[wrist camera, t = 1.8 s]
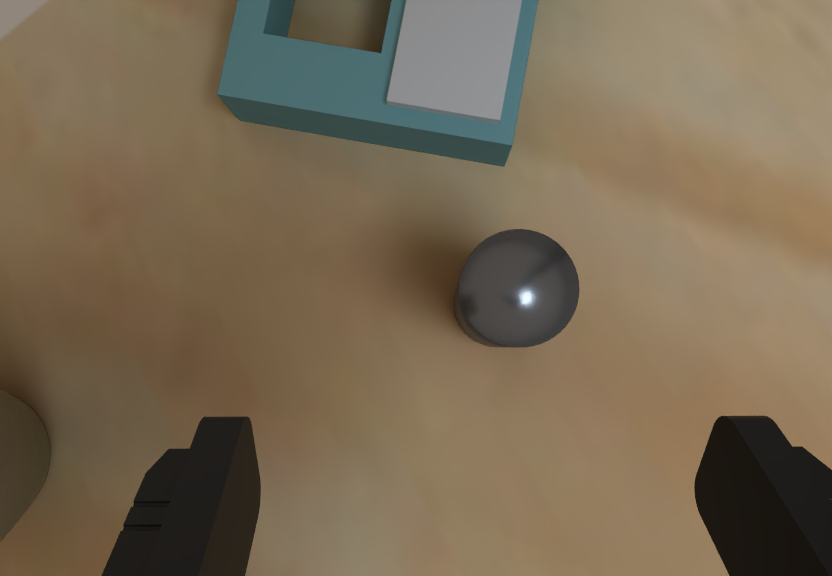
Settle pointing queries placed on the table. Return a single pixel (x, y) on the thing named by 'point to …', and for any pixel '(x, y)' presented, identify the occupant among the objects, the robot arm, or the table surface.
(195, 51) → the table surface
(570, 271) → the dark grey cylinder
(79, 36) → the table surface
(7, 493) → the plant pot
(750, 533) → the robot arm
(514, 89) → the jig
